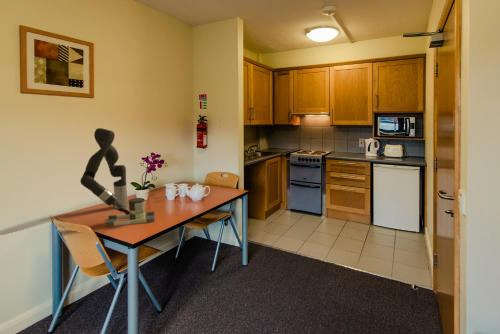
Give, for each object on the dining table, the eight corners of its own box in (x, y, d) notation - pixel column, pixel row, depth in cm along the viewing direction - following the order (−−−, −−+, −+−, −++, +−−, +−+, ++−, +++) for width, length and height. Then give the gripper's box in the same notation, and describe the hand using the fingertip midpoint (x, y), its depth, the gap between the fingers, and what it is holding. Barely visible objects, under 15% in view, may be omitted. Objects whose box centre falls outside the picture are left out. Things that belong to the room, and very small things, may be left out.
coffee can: (127, 222, 198) (126, 201, 196) (132, 217, 208) (131, 198, 206) (143, 221, 199) (142, 201, 197) (147, 217, 209) (146, 197, 207)
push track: (105, 226, 191) (105, 222, 190) (108, 219, 206) (108, 215, 205) (154, 221, 200) (154, 218, 199) (154, 214, 215) (154, 211, 214)
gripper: (110, 195, 190) (132, 212, 196) (113, 191, 203) (133, 207, 208) (101, 204, 189) (123, 220, 195) (105, 199, 202) (125, 215, 207)
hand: (128, 213), depth 201 cm, fingers closed
